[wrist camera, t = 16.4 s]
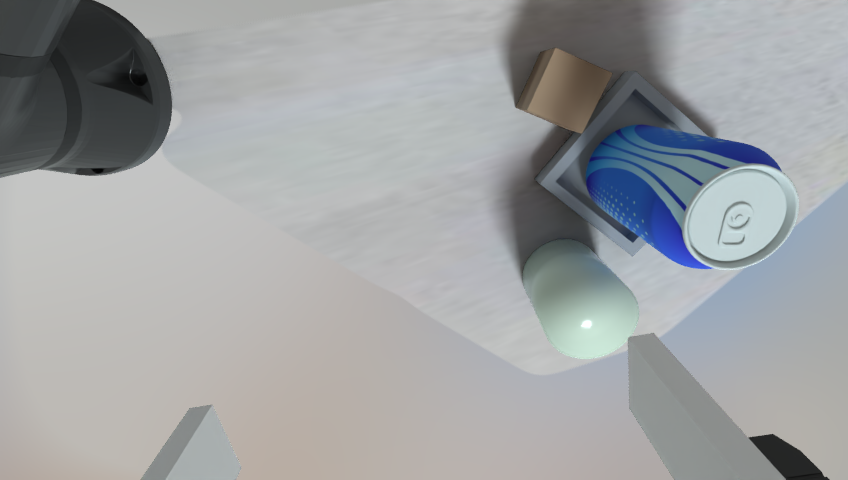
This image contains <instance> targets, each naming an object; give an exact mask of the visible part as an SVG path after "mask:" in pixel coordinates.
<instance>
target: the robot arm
mask: <svg viewBox="0 0 848 480" xmlns="http://www.w3.org/2000/svg"><path fill="white" fill-rule="evenodd" d="M171 113H172V99H171V91H170V86H169V82H168V79H167V76H166V73H165V70H164V68H163V65H162V63H161V61H160V59H159V57H158V56H157V54H156V52H155V50H154V49H153V47H152V46H151V45H150V43H149V42H148V40H147V39H146V38H145V37H144V36H143V34H142V33H141V32H140V31H139V30H138V29H137V28H136V27H135V26H134V25H133V24H132V23H131V22H129V21H128V20H127V19H126V18H124V17H123V16H121V15H120V14H119V13H117V12H116V11H114V10H113V9H111V8H109V7H107V6H105V5H103V4H101V3H99V2H96V1H93V0H0V178H1V177H5V176H9V175H14V174H19V173H23V172H27V171H32V170H36V169H41V170H49V171H56V172H63V173H70V174H78V175H88V176H97V175H107V174H112V173H116V172H120V171H124V170H127V169H130V168H133V167H135V166H138V165H139V164H142V163H143V162H145V161H146V160H148V159H149V158H150V157H151V156H152V155H153V154H154V153H155V152H156V151H157V150H158V149H159V147H160V146H161V144H162V143H163V141H164V139H165V137H166V135H167V132H168V129H169V126H170V121H171ZM628 365H629V409H630V410H631V412H632V413H633V415H634V417H635V418H636V420H637V421H638V423H639V424H640V426H641V428H642V429H643V431H644V432H645V434H646V436H647V437H648V439H649V440H650V442H651V443H652V445H653V447H654V448H655V450H656V451H657V453H658V455H659V456H660V458H661V460H662V461H663V463H664V464H665V466H666V467H667V469H668V471H669V472H670V474H671V476H672V477H673V479H674V480H829V479H828V478H827V477H824V476H823V474H822V472H821V471H820V470H819V469H818V468H817V467H816V466H815V465H814V464H813V463H812V462H811V461H810V460H809V459H808V458H807V457H806V456H805V455H804V454H803V453H802V452H801V451H800V450H798V449H797V448H795V447H793V446H792V445H790V444H788V443H787V442H785V441H783V440H782V439H780V438H778V437H777V436H775V435H773V434H770V435H764V436H756V437H749V438H748V437H747V436H746V435H745V434H744V433H743V431H742V430H741V429H740V428H739V427H738V426H737V425H736V424H735V423H734V422H733V420H732V419H731V418H730V417H729V416H728V415H727V414H726V413H725V412H724V411H723V410H722V408H721V407H720V406H719V405H718V404H717V403H716V402H715V401H714V399H713V398H712V397H711V396H710V395H709V394H708V393H707V392H706V391H705V389H703V387H702V386H701V385H700V384H699V383H698V382H697V381H696V380H695V378H694V377H693V376H692V375H691V374H690V373H689V372H688V371H687V370H686V368H685V367H684V366H683V365H682V364H681V363H680V362H679V361H678V360H677V358H676V357H675V356H674V355H673V354H672V353H671V352H670V351H669V350H668V348H666V346H665V345H664V344H663V343H662V342H661V341H660V340H659V339H658V337H657V336H656V335H655V334H654V333H651V334H645V335H639V336H633V337H628ZM240 470H241V466H240V463H239V461H238V459H237V457H236V455H235V453H234V450H233V448H232V446H231V444H230V442H229V440H228V437H227V435H226V433H225V431H224V429H223V427H222V424H221V422H220V420H219V418H218V416H217V414H216V411H215V409H214V407H213V405H207V406H201V407H195V408H189V410H188V411H187V413H186V414H185V416H184V417H183V419H182V420H181V422H180V423H179V425H178V426H177V428H176V429H175V430H174V432H173V433H172V435H171V436H170V438H169V439H168V440H167V442H166V443H165V445H164V446H163V448H162V449H161V451H160V452H159V454H158V455H157V456H156V458H155V459H154V461H153V462H152V464H151V465H150V467H149V468H148V470H147V471H146V472H145V474H144V475H143V477H142V478H141V480H236V478H237V476H238V474H239V472H240Z"/></svg>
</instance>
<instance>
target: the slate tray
mask: <svg viewBox="0 0 848 480" xmlns="http://www.w3.org/2000/svg"><path fill="white" fill-rule="evenodd" d="M631 125H650V126H655V127H660V128H665V129H671V130H676V131H681V132H687V133H692V134H697V135H702V136H707V135H706V134H705V133H704V132H703V131H702V130H701V129H699V128H698V127H697V126H696V125H695V124H694V123H693V122H692V121H691V120H689V119H688V118H687V117H686V116H685V115H684V114H683V113H682V112H681V111H680V110H678V109H677V108H676V107H675V106H674V105H673V104H672V103H671V102H670V101H668V100H667V99H666V98H665V97H664V96H663V95H662V94H661V93H660V92H658V91H657V90H656V89H655V88H654V87H653V86H652V85H651V84H650V83H648V82H647V81H646V80H645V79H644V78H643V77H642V76H641V75H640V74H638V73H637V72H636V71H629V72H624V73H623V74H622V76H621V77H620V78H619V79H618V80H617V81H616V83H615V84H614V85H613V86H612V87H611V89H610V90H609V91H608V92H607V93H606V95H605V96H604V97H603V98H602V99H601V100H600V102H599V103H598V104H597V105H596V107H595V109H594V111H593V113H592V115H591V117H590V119H589V121H588V123H587V125H586V127H585V129H584V131H583V133H582V134H581V133H578V132H575V131H574V132H573V134H572V135H571V136H570V137H569V138H568V140H567V141H566V142H565V143H564V144H563V146H562V147H561V148H560V149H559V150H558V151H557V153H556V154H555V155H554V156H553V157H552V159H551V160H550V161H549V162H548V163H547V165H546V166H545V167H544V168H543V169H542V170H541V172H540V173H539V174H538V175H537V176H536V178H535V180H536V181H537V182H538V183H539V184H541V185H542V186H543V187H544V188H546V189H547V190H548V191H550V192H551V193H552V194H553V195H555V196H556V197H557V198H558V199H560V200H561V201H562V202H564V203H565V204H566V205H567V206H569V207H570V208H571V209H573V210H574V211H575V212H576V213H578V214H579V215H580V216H581V217H583V218H584V219H585V220H587V221H588V222H589V223H590V224H592V225H593V226H594V227H596V228H597V229H598V230H599V231H601V232H602V233H603V234H604V235H606V236H607V237H608V238H610V239H611V240H612V241H613V242H615V243H616V244H617V245H618V246H620V247H621V248H622V249H624V250H625V251H626V252H627V253H629V254H630V255H631V256H634V255H635V254H636V253H637V252H638V251H639V250H640V249H641V248H642V247H643V246H644V245H645V244H646V243H647V242H646V241H644V240H643V239H642V238H640V237H639V236H638V235H636V234H635V233H633V232H632V231H631V230H629V229H628V228H627V227H625V226H624V225H623V224H621V223H620V222H618V221H617V220H616V219H614V218H613V217H612V216H610V215H609V214H607V213H606V212H605V211H603V210H602V209H601V208H599V207H598V206H597V205H596V204H595V203H594V201H593V200H592V198H591V197H590V195H589V193H588V190H587V186H586V169H587V165H588V161H589V159H590V157H591V155H592V153H593V151H594V150H595V148H596V147H597V146H598V144H599V143H600V142H601V141H602V140H603V139H604V138H606V137H607V136H608V135H610V134H611V133H613V132H614V131H616V130H618V129H621V128H623V127H627V126H631Z"/></svg>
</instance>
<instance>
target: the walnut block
mask: <svg viewBox="0 0 848 480" xmlns="http://www.w3.org/2000/svg"><path fill="white" fill-rule="evenodd" d="M612 74H613V73H611V72H609V71H607V70H605V69H602V68H600V67H598V66H596V65H593V64H591V63H589V62H587V61H584V60H582V59H580V58H578V57H576V56H573V55H571V54H569V53H567V52H564V51H562V50H560V49H558V48H553V49H549V50H546V51H543V52H540V54H539V56H538V59H537V61H536V63H535V65H534V67H533V70H532V72H531V74H530V76H529V79H528V81H527V83H526V85H525V88H524V90H523V92H522V94H521V96H520V99H519V101H518V103H517V105H516V108H518V109H520V110H523V111H525V112H527V113H530V114H532V115H535V116H537V117H539V118H542V119H544V120H546V121H549V122H551V123H553V124H556V125H558V126H560V127H563V128H565V129H568V130H571V131H575V132H578V133H581V134H582V133H583V131H584V129H585V127H586V125H587V123H588V121H589V119H590V117H591V115H592V113H593V111H594V109H595V107H596V105H597V103H598V101H599V99H600V97H601V96H602V94H603V92H604V90H605V88H606V86H607V84H608V82H609V80H610V78H611V76H612Z"/></svg>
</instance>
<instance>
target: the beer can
mask: <svg viewBox="0 0 848 480" xmlns="http://www.w3.org/2000/svg"><path fill="white" fill-rule="evenodd" d="M586 186H587V190H588V193H589V195H590V197H591V198H592V200H593V201H594V203H595V204H596V205H597V206H598V207H599V208H601V209H602V210H603V211H605V212H606V213H607V214H609V215H610V216H612V217H613V218H614V219H616V220H617V221H618V222H620V223H621V224H623V225H624V226H625V227H627V228H628V229H629V230H631V231H632V232H633V233H635V234H636V235H638V236H639V237H640V238H642V239H643V240H644V241H646V242H647V243H648V244H650V245H651V246H653V247H654V248H655V249H657V250H658V251H659V252H661V253H662V254H664V255H665V256H666V257H668V258H669V259H671V260H672V261H674V262H676V263H678V264H681V265H683V266H687V267H691V268H698V269H712V268H716V269H722V270H734V269H741V268H745V267H748V266H751V265H754V264H756V263H758V262H760V261H762V260H763V259H765V258H767V257H768V256H770V255H771V254H772V253H774V252H775V251H776V250H777V249H778V248H779V247H780V246H781V245H782V244H783V243H784V242H785V240H786V239H787V238H788V236H789V235H790V233H791V231H792V230H793V227H794V225H795V223H796V220H797V216H798V211H799V199H798V194H797V191H796V188H795V186H794V184H793V183H792V181H791V180H790V179H789V177H788V176H786V175H785V174H784V173H783V172H782V171H781V169H780V167H779V166H778V164H777V163H776V162H775V161H774V159H773V158H771V157H770V156H769V155H768V154H767V153H765V152H764V151H762V150H760V149H759V148H756V147H754V146H751V145H748V144H744V143H739V142H734V141H729V140H723V139H718V138H713V137H708V136H702V135H697V134H692V133H687V132H681V131H676V130H671V129H665V128H660V127H655V126H650V125H631V126H627V127H623V128H621V129H618V130H616V131H614V132H613V133H611V134H610V135H608V136H607V137H606V138H604V139H603V140H602V141H601V142H600V143H599V144H598V146H597V147H596V148H595V150H594V151H593V153H592V155H591V157H590V159H589V161H588V165H587V169H586Z"/></svg>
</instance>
